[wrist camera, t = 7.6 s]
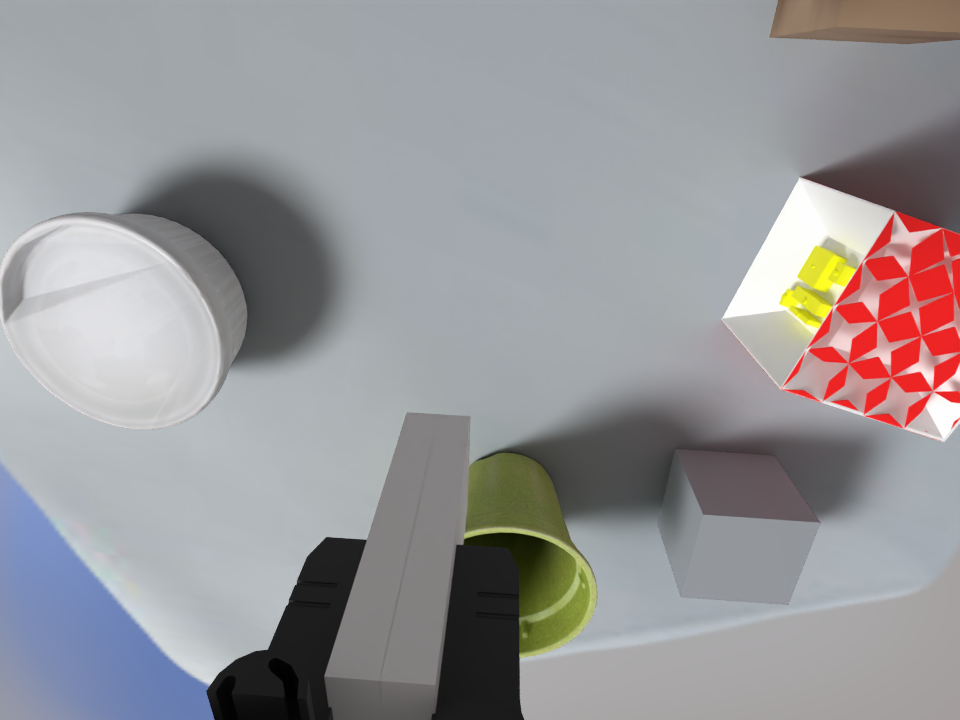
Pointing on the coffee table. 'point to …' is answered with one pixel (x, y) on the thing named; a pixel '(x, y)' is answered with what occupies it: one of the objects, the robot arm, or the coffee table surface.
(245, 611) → the coffee table surface
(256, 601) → the coffee table surface
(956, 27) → the walnut block
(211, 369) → the ramekin
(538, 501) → the plant pot
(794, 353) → the puzzle cube
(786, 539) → the slate grey block
